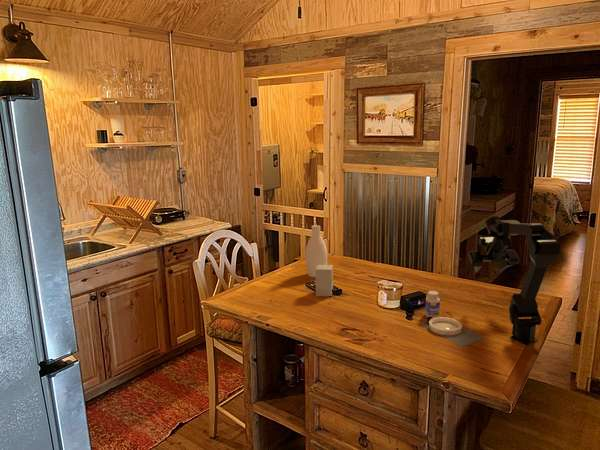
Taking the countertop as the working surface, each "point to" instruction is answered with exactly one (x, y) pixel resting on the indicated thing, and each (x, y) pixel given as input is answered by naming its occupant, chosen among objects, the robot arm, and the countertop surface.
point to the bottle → (315, 251)
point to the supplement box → (324, 280)
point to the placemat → (460, 336)
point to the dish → (445, 326)
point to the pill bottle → (432, 304)
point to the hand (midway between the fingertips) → (486, 270)
